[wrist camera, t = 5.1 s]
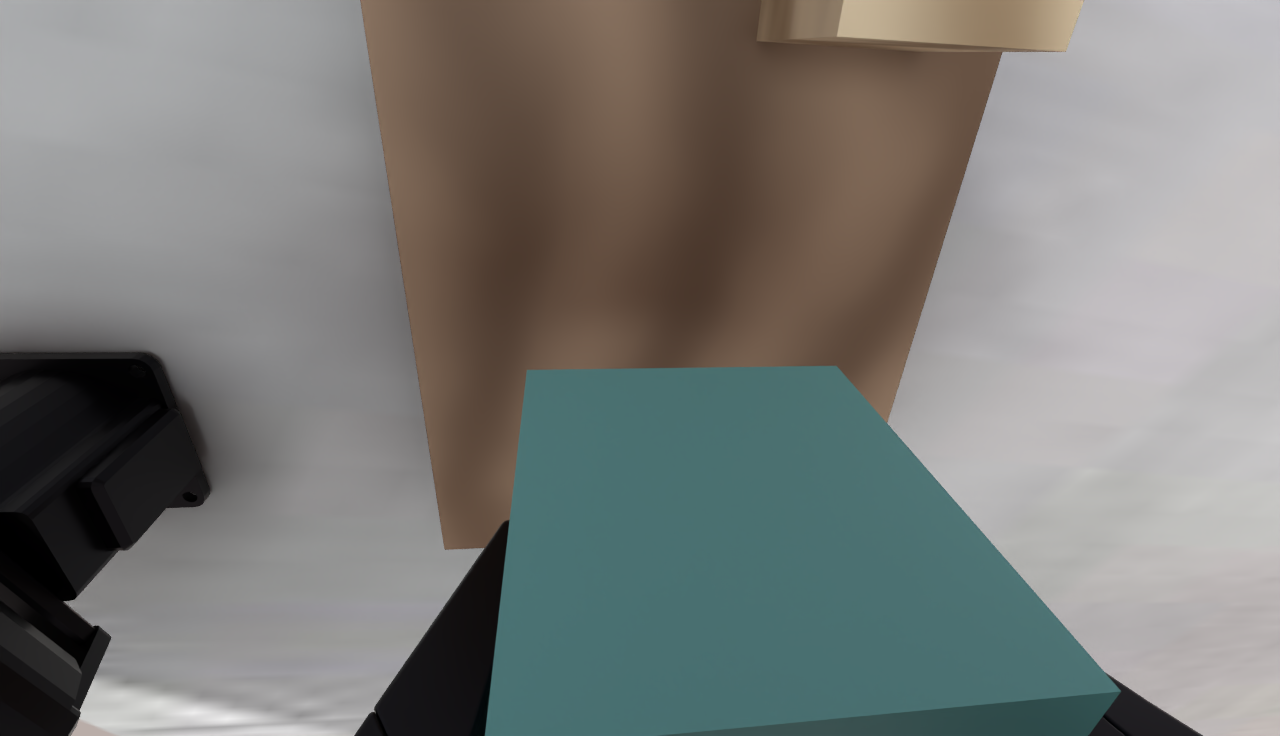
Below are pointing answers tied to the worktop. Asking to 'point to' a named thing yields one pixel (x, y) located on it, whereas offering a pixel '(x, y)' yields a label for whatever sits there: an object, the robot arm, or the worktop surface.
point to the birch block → (922, 24)
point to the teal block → (758, 573)
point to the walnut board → (650, 204)
